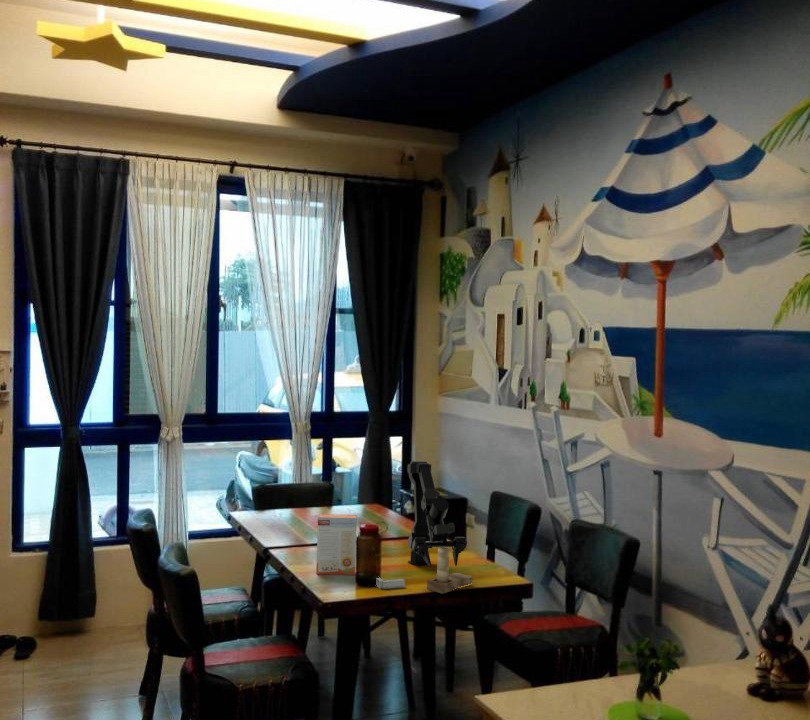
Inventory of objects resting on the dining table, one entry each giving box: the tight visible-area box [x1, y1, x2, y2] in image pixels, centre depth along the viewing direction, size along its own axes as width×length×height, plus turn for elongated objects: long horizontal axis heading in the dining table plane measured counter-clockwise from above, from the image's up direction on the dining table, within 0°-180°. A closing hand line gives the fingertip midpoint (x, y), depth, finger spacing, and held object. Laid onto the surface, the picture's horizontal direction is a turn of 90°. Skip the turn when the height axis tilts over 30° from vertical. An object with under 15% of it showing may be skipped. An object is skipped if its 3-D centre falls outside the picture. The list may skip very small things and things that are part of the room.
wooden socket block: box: [426, 572, 473, 594], centre depth 298 cm, size 16×7×3 cm, turn 137°
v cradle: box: [375, 577, 406, 590], centre depth 296 cm, size 7×12×2 cm, turn 70°
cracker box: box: [315, 513, 358, 576], centre depth 310 cm, size 14×6×21 cm, turn 92°
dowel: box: [436, 547, 451, 583], centre depth 295 cm, size 4×4×14 cm
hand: (443, 565), depth 295 cm, fingers open, 9 cm apart
